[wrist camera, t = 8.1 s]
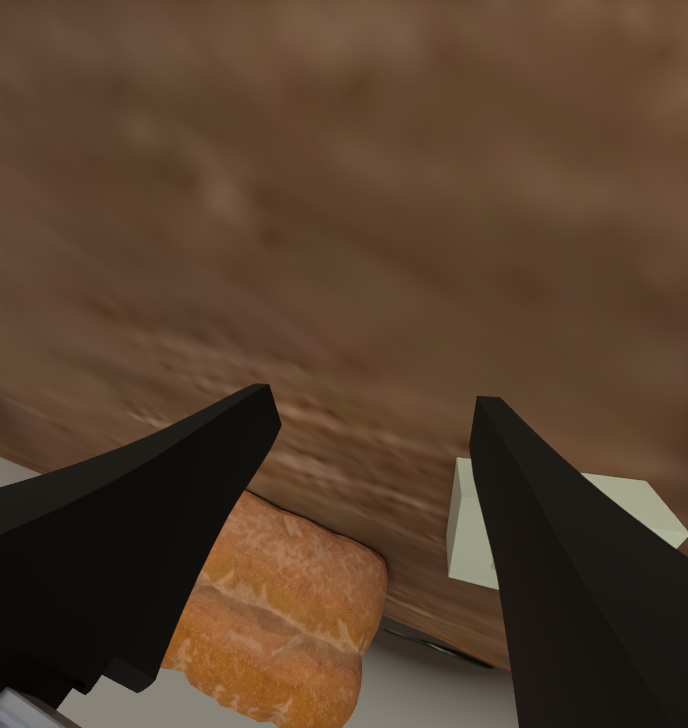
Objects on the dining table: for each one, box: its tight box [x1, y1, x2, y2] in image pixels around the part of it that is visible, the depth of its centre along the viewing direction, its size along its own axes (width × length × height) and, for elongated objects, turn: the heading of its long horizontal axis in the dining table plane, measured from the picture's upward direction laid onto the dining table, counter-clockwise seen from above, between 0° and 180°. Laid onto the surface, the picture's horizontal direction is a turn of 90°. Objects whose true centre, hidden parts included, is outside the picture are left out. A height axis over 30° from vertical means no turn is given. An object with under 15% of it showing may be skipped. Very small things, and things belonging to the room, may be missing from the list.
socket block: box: [446, 457, 688, 590], centre depth 21 cm, size 12×12×4 cm
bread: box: [160, 490, 388, 728], centre depth 29 cm, size 14×26×15 cm, turn 74°
